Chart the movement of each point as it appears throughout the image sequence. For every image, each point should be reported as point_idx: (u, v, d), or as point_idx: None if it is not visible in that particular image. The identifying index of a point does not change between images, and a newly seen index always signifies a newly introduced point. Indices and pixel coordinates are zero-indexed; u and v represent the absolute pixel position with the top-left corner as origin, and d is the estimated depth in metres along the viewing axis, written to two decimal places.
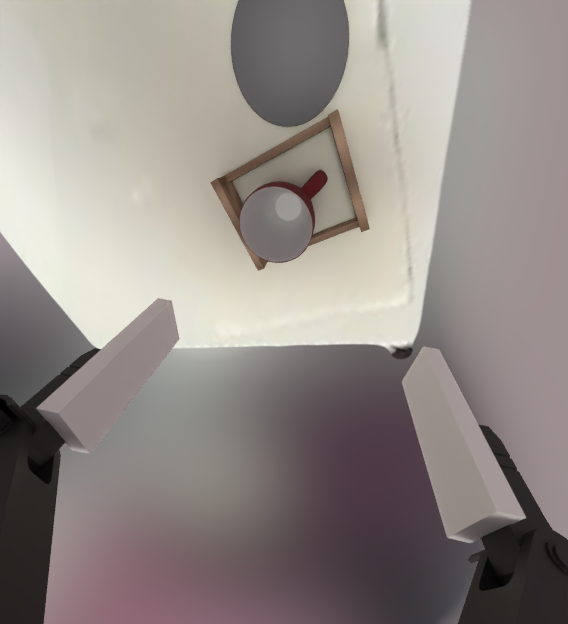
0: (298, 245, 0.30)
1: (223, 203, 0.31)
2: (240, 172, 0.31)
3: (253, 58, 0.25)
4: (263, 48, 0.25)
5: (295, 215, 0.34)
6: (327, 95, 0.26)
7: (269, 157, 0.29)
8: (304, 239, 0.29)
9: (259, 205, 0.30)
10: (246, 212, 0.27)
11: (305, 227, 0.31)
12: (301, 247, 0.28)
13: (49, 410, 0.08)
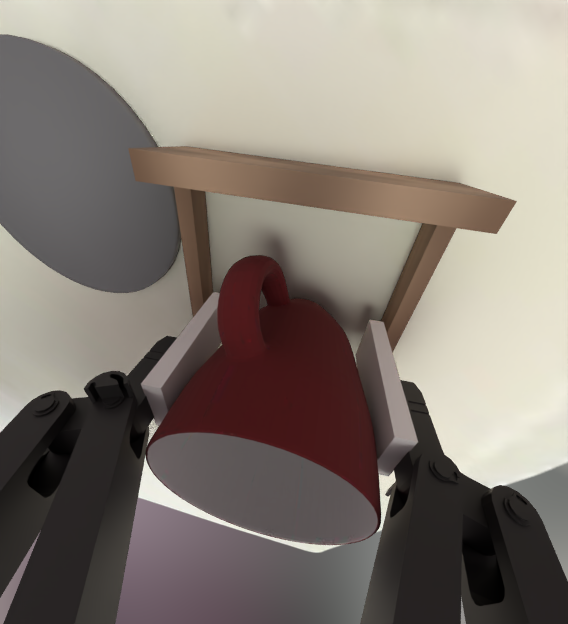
0: None
1: None
2: None
3: (74, 253, 0.15)
4: (63, 232, 0.15)
5: None
6: None
7: None
8: None
9: None
10: (218, 458, 0.12)
11: None
12: None
13: (151, 386, 0.09)
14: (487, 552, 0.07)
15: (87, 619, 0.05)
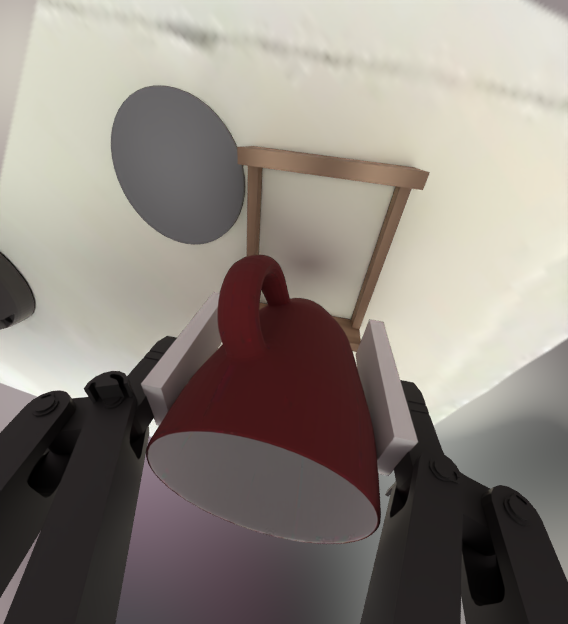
0: None
1: None
2: None
3: (170, 216, 0.24)
4: (166, 201, 0.23)
5: None
6: (229, 150, 0.20)
7: None
8: None
9: None
10: (218, 457, 0.12)
11: None
12: None
13: (151, 386, 0.09)
14: (487, 552, 0.07)
15: (87, 619, 0.05)
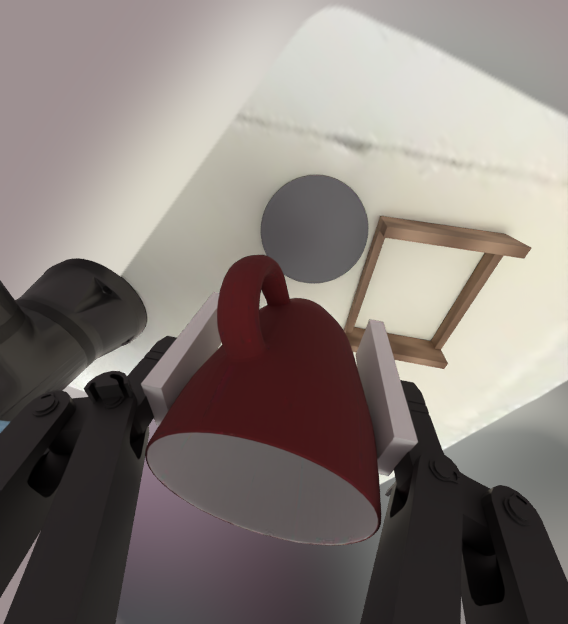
0: None
1: None
2: (353, 320, 0.32)
3: (297, 262, 0.30)
4: (298, 252, 0.29)
5: None
6: (362, 219, 0.26)
7: (364, 293, 0.29)
8: None
9: None
10: (217, 458, 0.12)
11: None
12: None
13: (151, 386, 0.09)
14: (487, 552, 0.07)
15: (87, 619, 0.05)
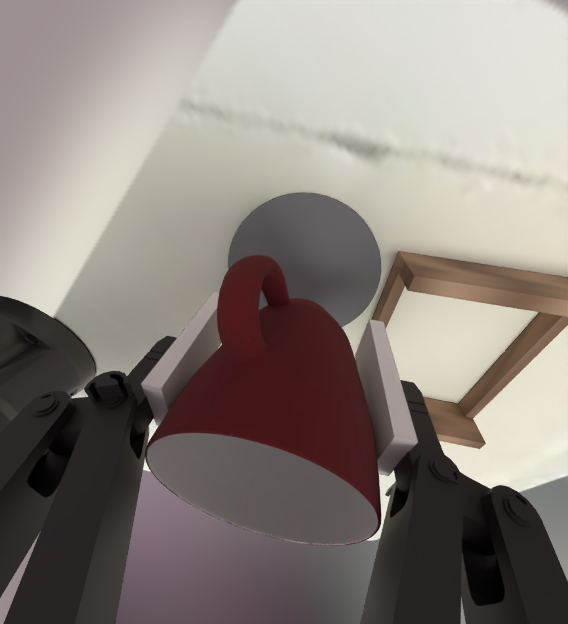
0: None
1: None
2: None
3: None
4: None
5: None
6: (372, 257, 0.18)
7: None
8: None
9: None
10: (217, 458, 0.12)
11: None
12: None
13: (151, 386, 0.09)
14: (487, 552, 0.07)
15: (87, 619, 0.05)
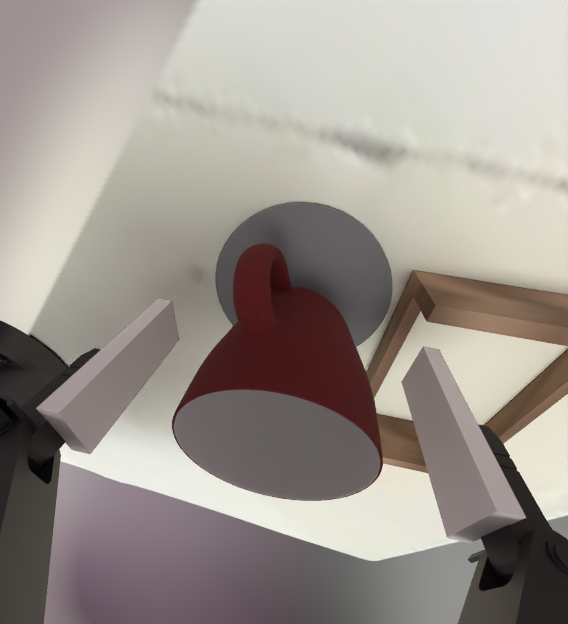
0: None
1: None
2: None
3: None
4: None
5: None
6: (382, 276, 0.15)
7: (380, 380, 0.19)
8: None
9: None
10: (230, 433, 0.13)
11: None
12: None
13: (49, 410, 0.08)
14: None
15: None
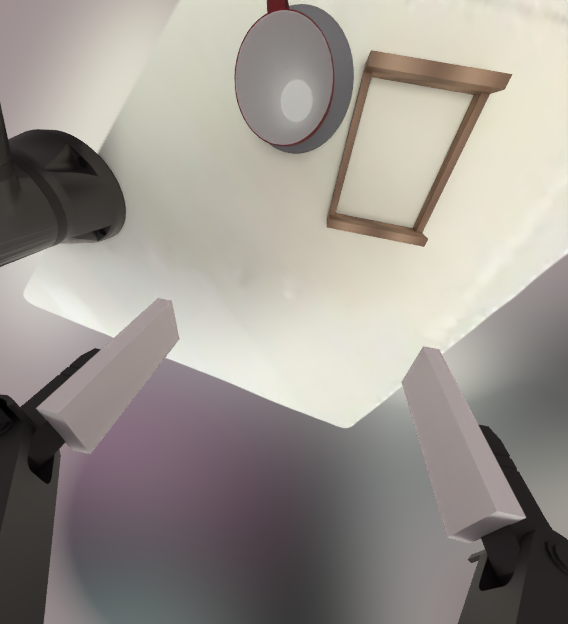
0: (329, 87, 0.21)
1: (347, 229, 0.31)
2: (337, 197, 0.31)
3: None
4: None
5: (309, 97, 0.27)
6: (347, 64, 0.25)
7: (347, 160, 0.29)
8: (328, 71, 0.21)
9: (269, 122, 0.26)
10: (256, 126, 0.23)
11: (321, 74, 0.23)
12: (331, 74, 0.20)
13: (49, 410, 0.08)
14: None
15: None
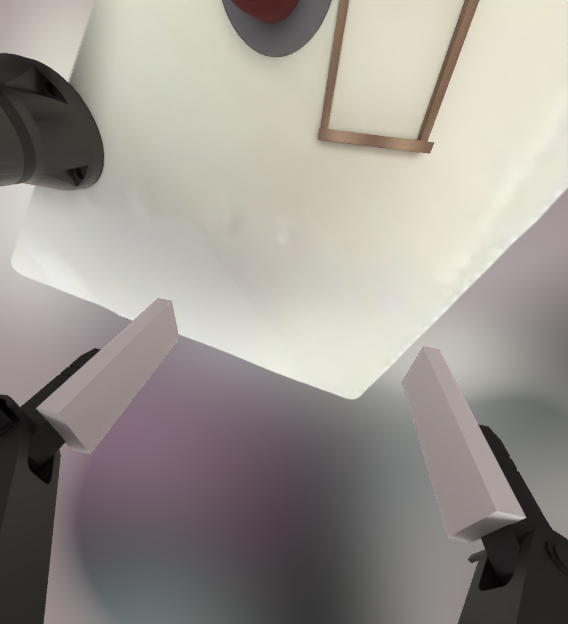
0: None
1: (341, 140, 0.28)
2: (328, 106, 0.28)
3: None
4: None
5: None
6: None
7: (337, 54, 0.26)
8: None
9: None
10: None
11: None
12: None
13: (49, 410, 0.08)
14: None
15: None
